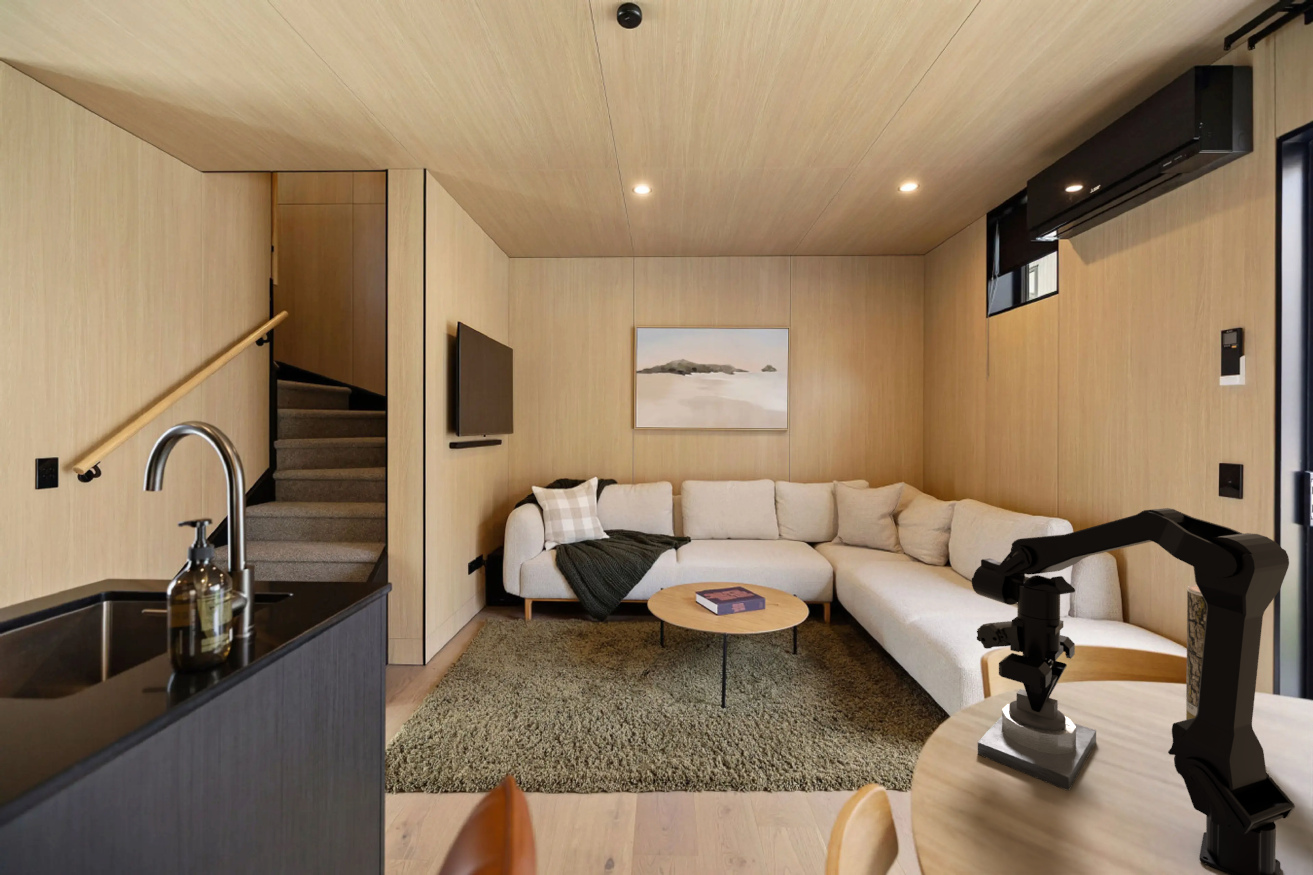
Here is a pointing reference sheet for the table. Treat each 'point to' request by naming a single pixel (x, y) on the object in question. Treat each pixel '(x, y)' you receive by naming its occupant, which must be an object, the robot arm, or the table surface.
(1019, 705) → the grip bar knob
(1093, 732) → the ring on base plate
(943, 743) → the table surface
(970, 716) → the table surface
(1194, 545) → the robot arm
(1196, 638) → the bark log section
